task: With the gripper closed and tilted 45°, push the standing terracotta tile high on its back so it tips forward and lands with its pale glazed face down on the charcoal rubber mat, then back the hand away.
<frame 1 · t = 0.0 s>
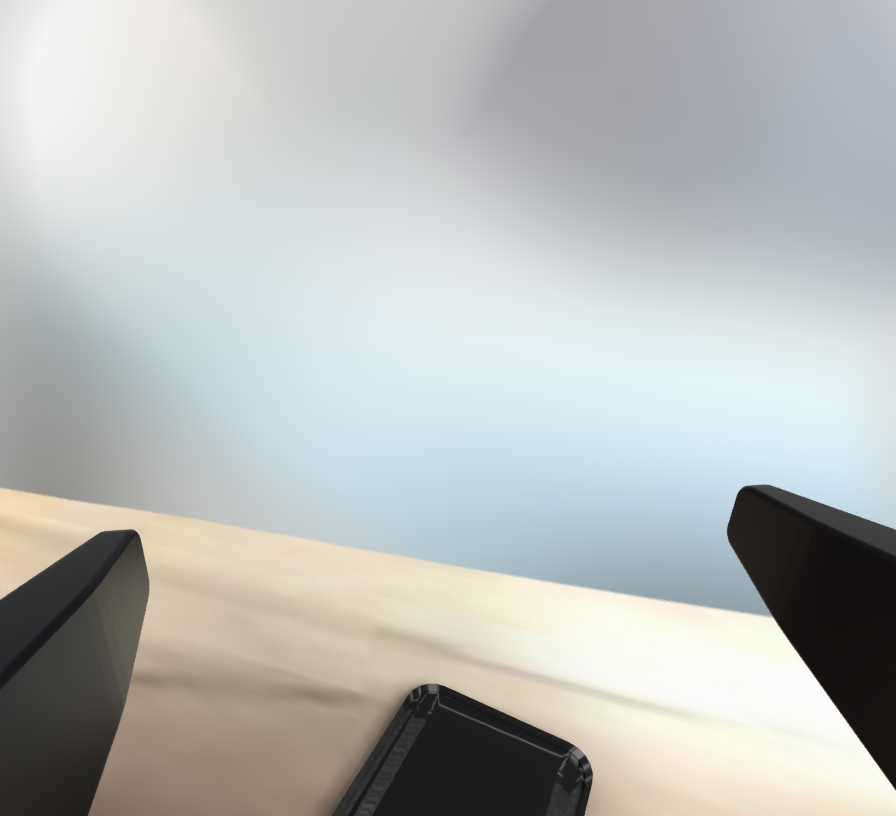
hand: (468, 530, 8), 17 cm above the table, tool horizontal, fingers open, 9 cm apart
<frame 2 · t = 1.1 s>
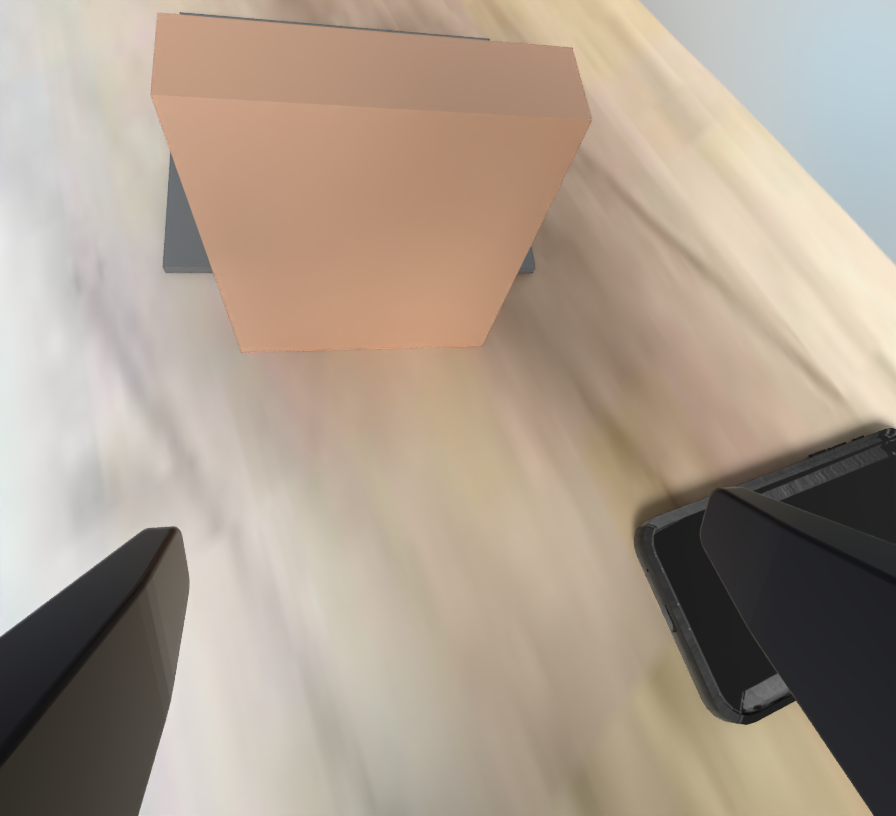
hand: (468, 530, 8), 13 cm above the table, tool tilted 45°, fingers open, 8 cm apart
phone: (804, 560, 25), on the table
glazed tile: (364, 323, 24), on the table
charcoal mat: (351, 142, 28), on the table
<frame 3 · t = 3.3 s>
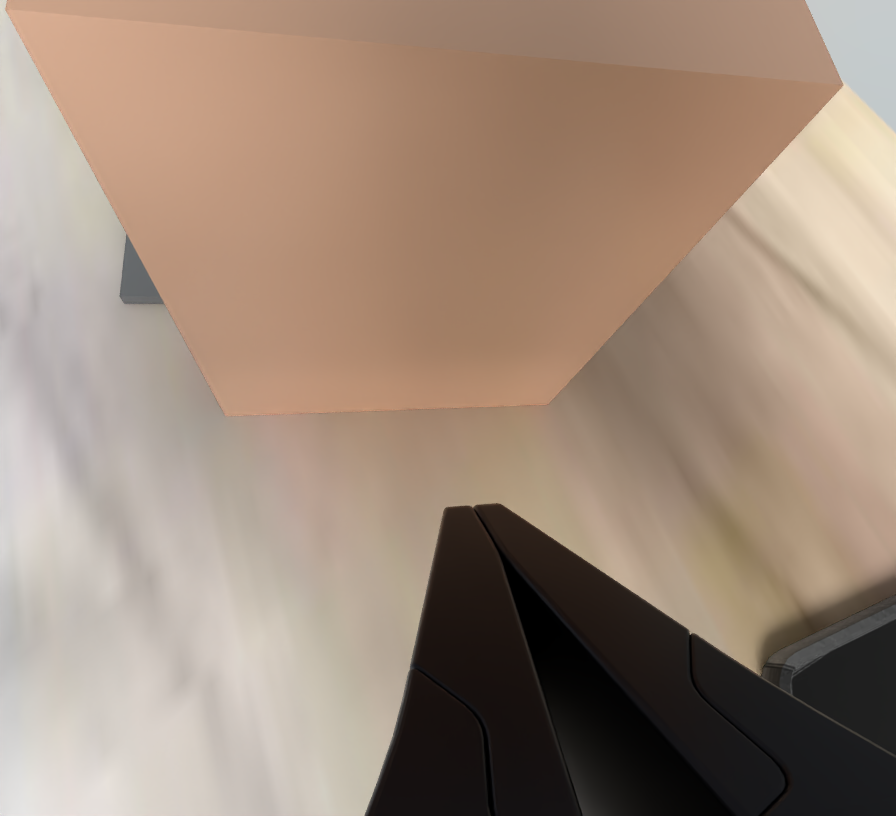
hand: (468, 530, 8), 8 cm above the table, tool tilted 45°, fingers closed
glazed tile: (392, 373, 18), on the table
charcoal mat: (374, 129, 22), on the table
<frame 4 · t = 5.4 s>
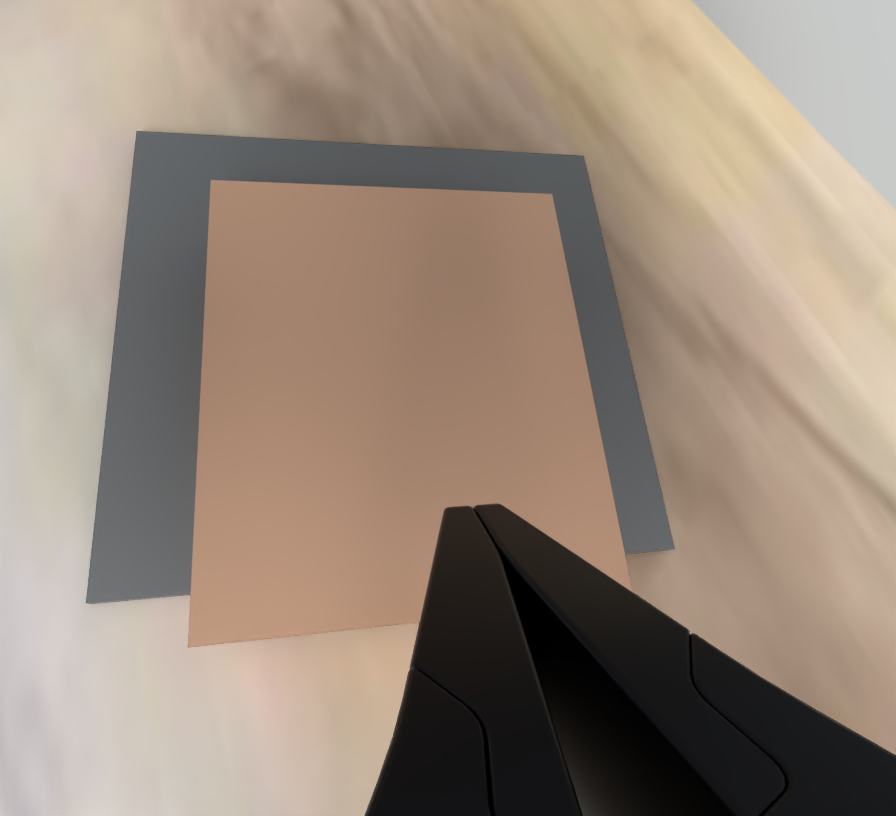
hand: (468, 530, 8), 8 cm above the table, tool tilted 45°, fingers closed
glazed tile: (420, 621, 14), point 2 cm above the table, tilted 90°, touching charcoal mat
charcoal mat: (390, 334, 19), on the table
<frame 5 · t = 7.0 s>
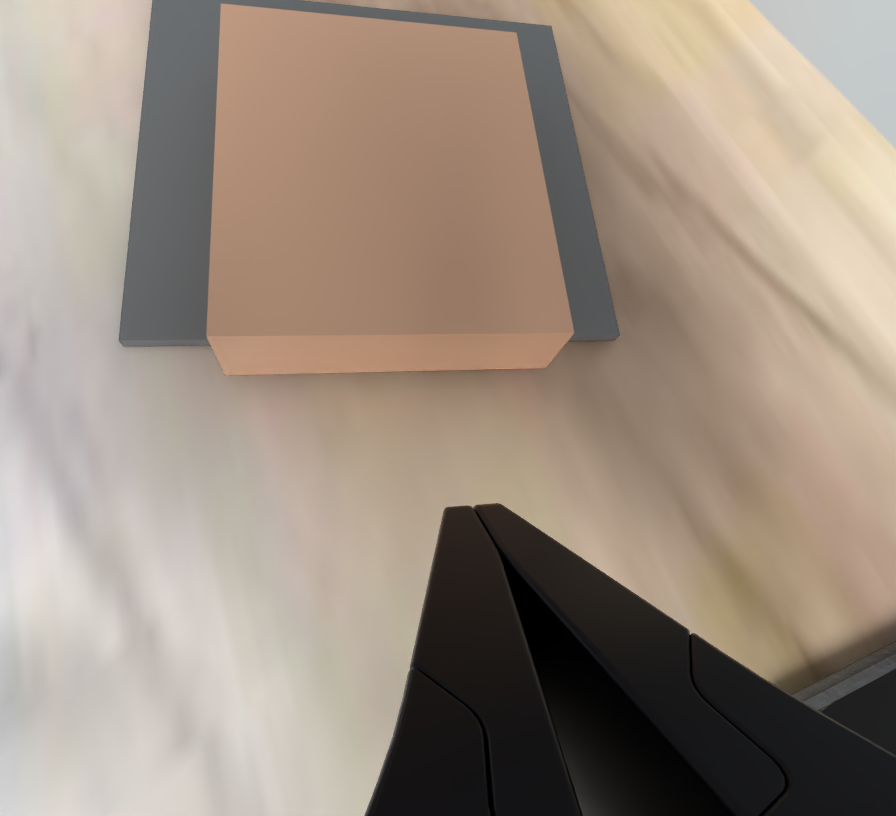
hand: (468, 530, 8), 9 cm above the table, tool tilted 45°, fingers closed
glazed tile: (397, 354, 17), point 2 cm above the table, tilted 90°, touching charcoal mat
charcoal mat: (376, 160, 21), on the table
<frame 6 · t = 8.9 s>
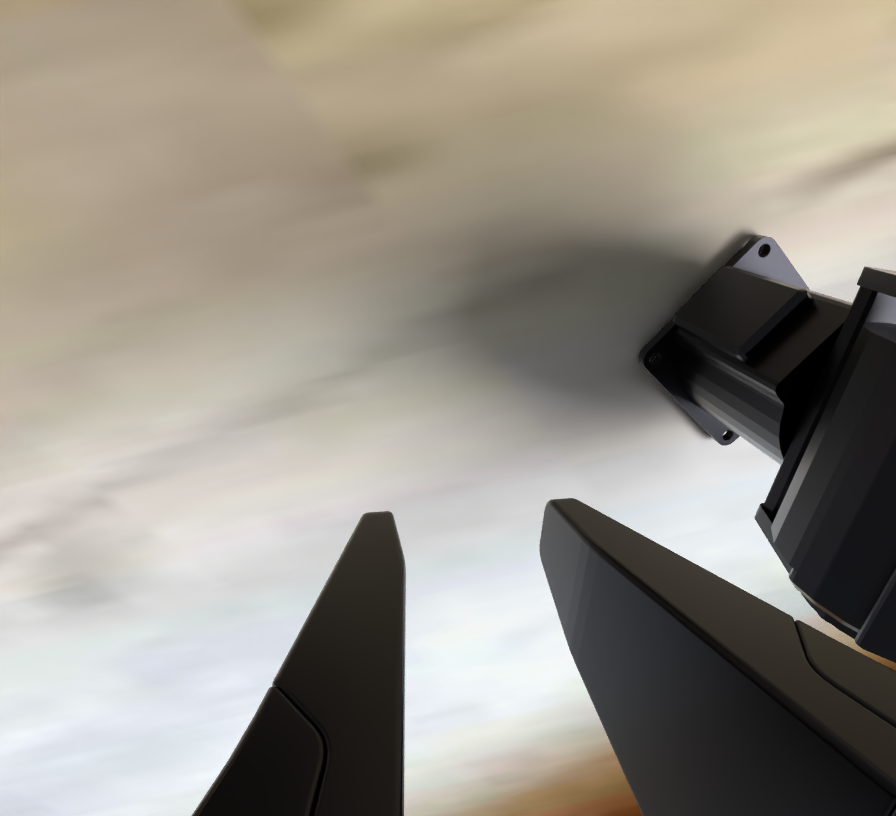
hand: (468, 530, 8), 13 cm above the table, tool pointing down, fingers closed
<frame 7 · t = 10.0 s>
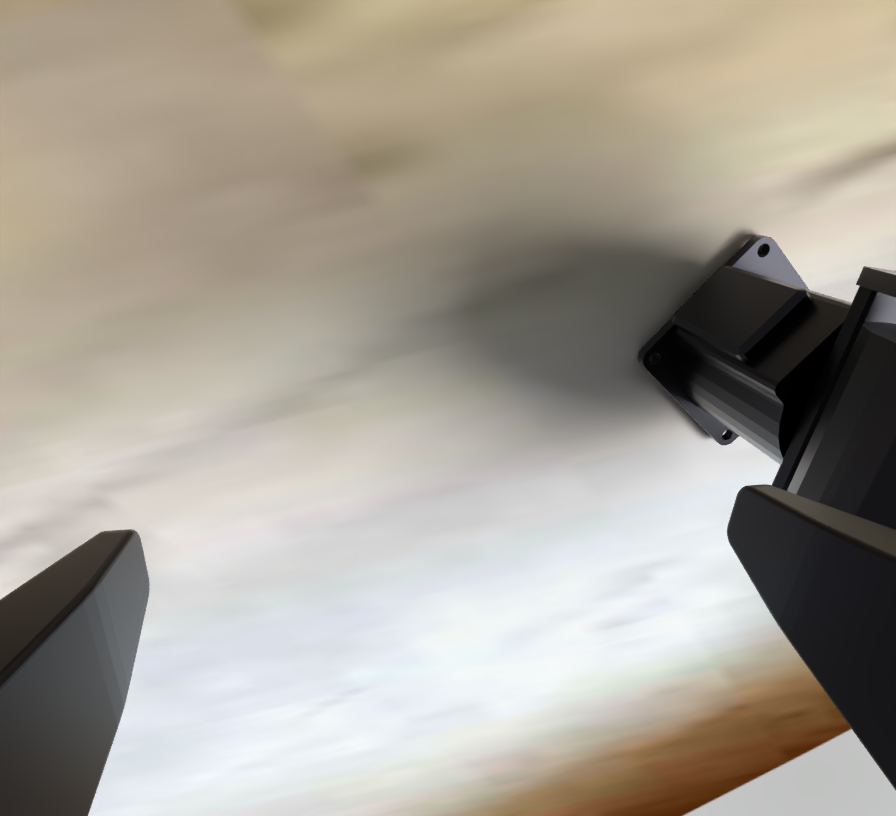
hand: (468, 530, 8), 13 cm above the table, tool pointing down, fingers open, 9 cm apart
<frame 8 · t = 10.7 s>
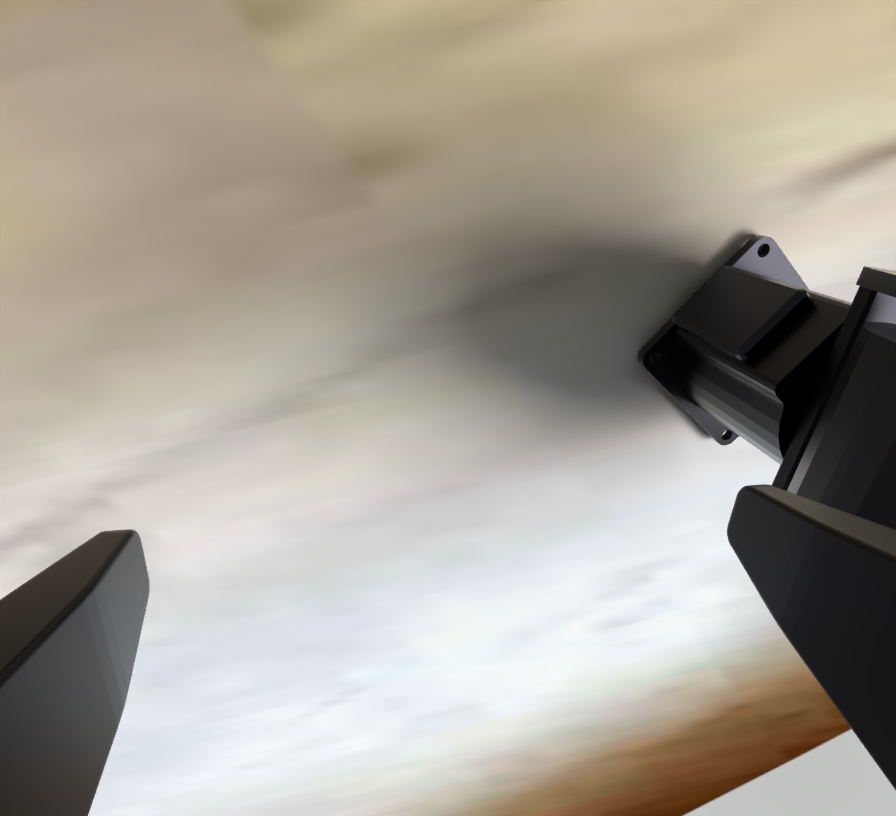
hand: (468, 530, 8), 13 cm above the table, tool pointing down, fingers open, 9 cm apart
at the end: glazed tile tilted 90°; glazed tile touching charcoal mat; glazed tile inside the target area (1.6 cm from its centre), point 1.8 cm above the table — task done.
